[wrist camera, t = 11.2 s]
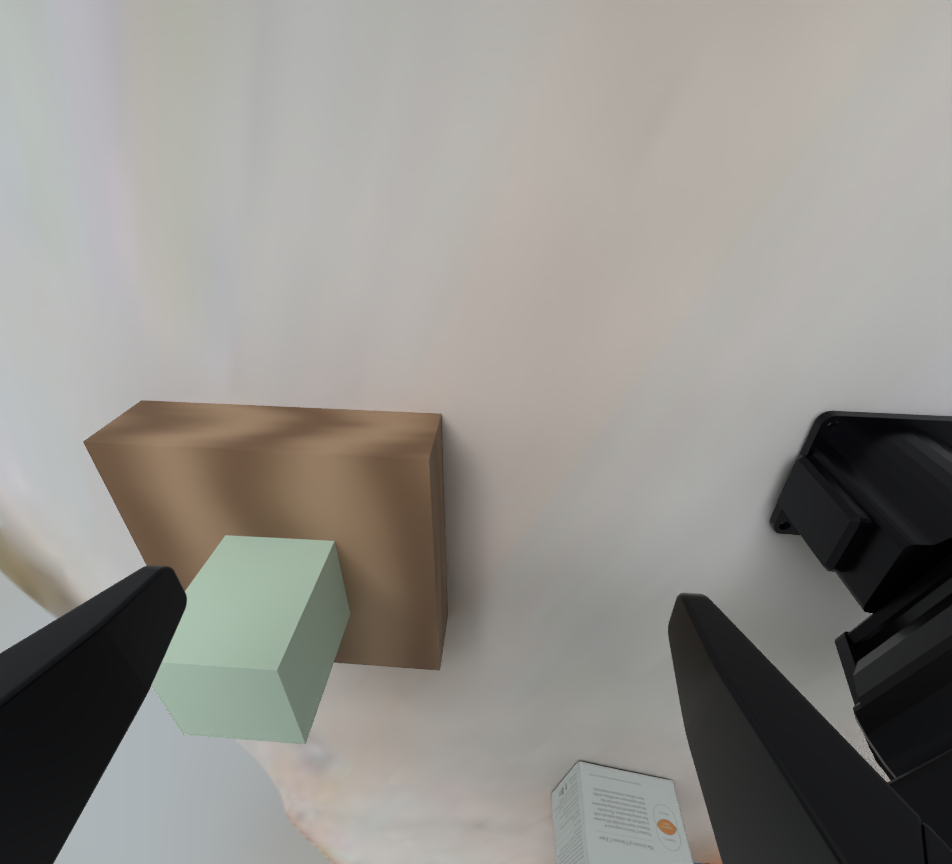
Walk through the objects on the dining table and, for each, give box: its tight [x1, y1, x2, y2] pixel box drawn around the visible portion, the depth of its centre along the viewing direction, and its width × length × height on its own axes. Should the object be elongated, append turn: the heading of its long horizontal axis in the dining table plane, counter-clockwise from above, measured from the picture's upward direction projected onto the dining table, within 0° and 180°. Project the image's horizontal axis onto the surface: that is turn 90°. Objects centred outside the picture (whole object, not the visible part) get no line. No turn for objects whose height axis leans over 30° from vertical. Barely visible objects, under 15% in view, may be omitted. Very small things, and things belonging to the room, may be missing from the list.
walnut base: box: [83, 401, 448, 670], centre depth 24 cm, size 14×14×4 cm
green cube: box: [151, 535, 350, 744], centre depth 20 cm, size 5×5×6 cm
